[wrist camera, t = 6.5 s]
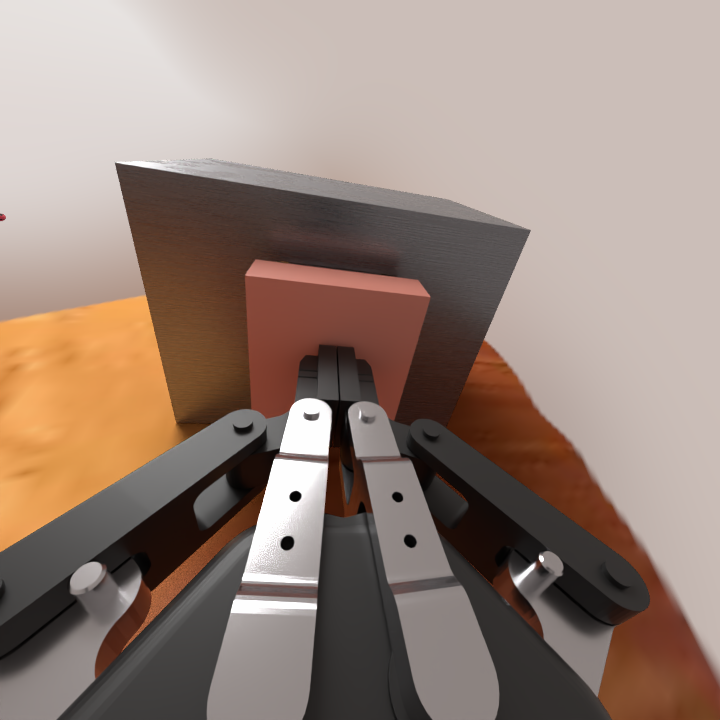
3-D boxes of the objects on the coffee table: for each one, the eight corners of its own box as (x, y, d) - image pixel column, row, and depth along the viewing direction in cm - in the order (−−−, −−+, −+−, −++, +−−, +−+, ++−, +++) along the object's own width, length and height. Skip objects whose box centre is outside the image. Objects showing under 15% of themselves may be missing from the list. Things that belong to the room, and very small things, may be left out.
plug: (251, 417, 15) (244, 275, 11) (284, 300, 26) (286, 212, 23) (392, 424, 16) (430, 296, 12) (364, 309, 28) (379, 226, 24)
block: (176, 422, 19) (114, 162, 12) (226, 331, 29) (210, 158, 22) (443, 433, 22) (530, 230, 15) (407, 347, 32) (448, 199, 25)
